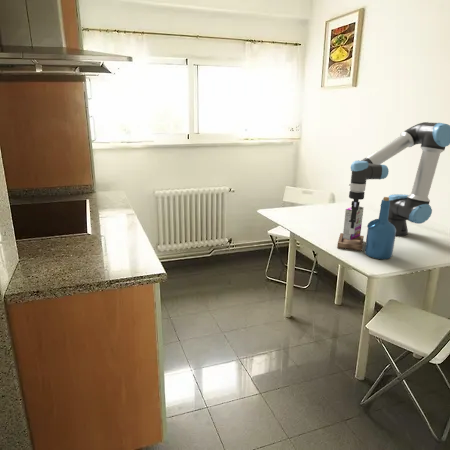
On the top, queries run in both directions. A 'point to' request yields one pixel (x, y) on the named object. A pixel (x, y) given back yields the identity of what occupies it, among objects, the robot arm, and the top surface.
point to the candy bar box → (357, 225)
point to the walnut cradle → (350, 243)
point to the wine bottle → (381, 234)
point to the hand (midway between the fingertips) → (352, 230)
